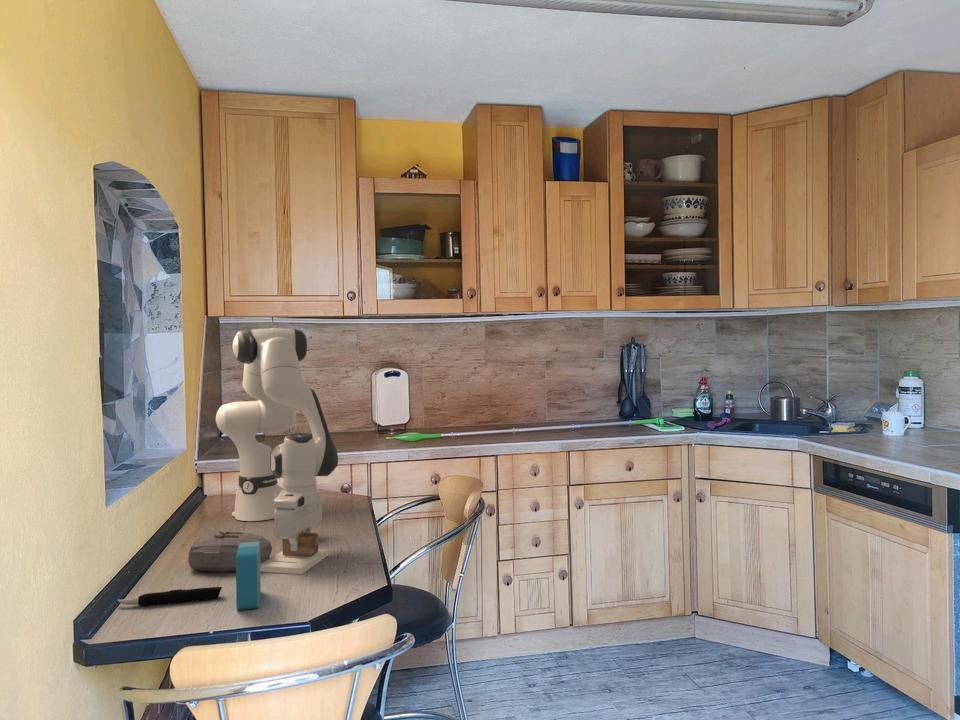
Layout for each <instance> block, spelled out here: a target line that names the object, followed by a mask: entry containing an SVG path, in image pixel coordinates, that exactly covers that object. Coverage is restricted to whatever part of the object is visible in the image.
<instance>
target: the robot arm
mask: <svg viewBox="0 0 960 720" xmlns="http://www.w3.org/2000/svg"><path fill="white" fill-rule="evenodd" d="M308 347H309V345H308V340H307V336H306V334H305V333H304V332H303V330H300V329H297V328H296V329H294V328H291V329H288V328H281V327H280V328H279V327H270V328H256V329H255V328H254V329H249V328H247V329H242V330H238V331H237V332H236V333H235V336H234V339H233V340H232V351H233V354H234V357H235V359H236V360H237V362H239V363H241V364H243V365H244V366H243V373H242V374H243V375H242V389H243V390H244V392H245V393H247V394H248V395H249V396H250V397H252V398H253V399H254V398H255V399H256V400H248V401H247V400H246V401H245V400H243V401H232V402H229V403H225V404H222V405H220V406H219V408H218V410H217V412H216V415H215V423H216V426H217V428H218V430H219V431H220V432H221V433H222V434H224V435H225V436H227V437H228V438H229V439H230V440H231V441H232V443H233V444H234V445H235V448H236V449H237V454H238V461H239V475H238V480H237V482H238V487H239V489H237V490H236V492H235V502H234V503H235V504H234V511H232V512H231V516H232V517H234V519H236V521H237V520H238V521H244V522H260V521H267V520H273V519H274V533H275V536H276V538H277V539H280V540H282V539H289V542H290V544H291V550H292V551H296V550H298V549H299V543H298V541H297V537H298V533H300V532H302V531H303V533H312V529H313V526H314V525H316V524H317V523H320V522H321V521H322V518H323V509H322V499H321V496H319V492H318V489H317V488H318V486H317V485H318V481H317V478H316V477H328V476H329V475H331V474H332V473H333V472H334V471H335V470H336V469H337V467H338V465H339V455H338V450H337V448H336V446H335V443H334V441H333V439H332V435H331V434H330V430H329V427H328V424H327V421H326V419H325V415H324V413H323V409H322V407H321V403H320V401H319V398H318V396H317V394H316V391H315V390H314V389H312V388H310V387H309V385H308V384H306V382H305V380H304V379H303V377H302V373H301V367H300V362H302V361H303V360H304V358H305V357H306V356H307V352H308V349H309V348H308ZM296 410H297V411H298V412H300V413H302V414H303V415H304V417H306V419H307V422H308V425H309V429H310V432H311V435H310V434H309V433H304V432H293V433H290V434H287V435H286V436H285V437H284V439H283V442H282V443H281V444H277V445H275V446H274V447H273V448H272V447H270V446H269V445H267V444H265V443H262V442H261V441H258V440H257V438H256V435H257V434H269V433H272V434H273V433H280V432H284V431H288V430H290V429H291V428H293V426H294V424H295V423H296V420H297V412H296ZM278 479H283V481H282V487H281V485H279V484H278Z"/></svg>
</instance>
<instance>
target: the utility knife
mask: <svg viewBox="0 0 960 720" xmlns="http://www.w3.org/2000/svg"><path fill="white" fill-rule="evenodd" d="M222 588H223V587H222V586H213V587H211V586H210V587H200V588H188V589H182V588H181V589H170V590H167V591H162V592H161V591H160V592H159V591H158V592H148V593H144V594H141V595H139V596H135V597H131V598H126V599H125V598H123V599H120V598H119V599H117V601H118V603H120V604H121V605H122V604H123V605H128V606H131V605H132V606H139V607H144V606H146V607H152V606H153V605H154V606H155V607H156V606H164V605H166V606H167V605H172V604H173V605H174V604H175V603H176V604H182V603H183V604H185V603H193V602H203V601H210V600H218V598H219V595H220V593H221V591H222ZM154 606H153V607H154Z"/></svg>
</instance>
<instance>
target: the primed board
mask: <svg viewBox="0 0 960 720" xmlns="http://www.w3.org/2000/svg"><path fill="white" fill-rule="evenodd" d="M329 555H330V554H329V549H323V548H321V549H319V548H318V552H317V553H316V554H314V555H313V556H311V557H306V556H289V555H283V550H281V551H280V552H278V553H276V554H274V555H272V556H270V557H269V559H268V560H266V561H265V562H263V563H261V564H260V571H261V572H262V573H274V574H275V573H276V574H287V575H288V574H289V575H292V574H293V575H302V574H304V573H305V572H307V571H308V570H310V569H312V567H314V566H315V565H317V564H318V563H320V562H321V561H323V560H324V559H326V558H327V557H329ZM326 556H327V557H326ZM325 557H326V558H325ZM322 559H323V560H322Z"/></svg>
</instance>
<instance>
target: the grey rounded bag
mask: <svg viewBox="0 0 960 720" xmlns="http://www.w3.org/2000/svg"><path fill="white" fill-rule="evenodd" d="M246 542H260V564H261V563H263V562H265V561H266V560H268V559H269V558H271V554H272V551H273V546H272V543H271V541H270V540H269V539H267V538H265V537H264V536H262V535H259V534H254V533H251V532H237V531H236V532H235V531H226V532H223V531H218V533H215V534H211V535H207V536H203V537H200V538H198V539H197V540H195V542H193V543H192V545H191V547H190V549H189V552H188V564H189V565H188V566H189V567H190V569H191V570H194V571H195V570H196V571H204V572H212V573H213V572H214V573H215V572H216V573H225V572H226V573H227V572H236V555H237V551H238V547H239V544H240V543H246Z"/></svg>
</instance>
